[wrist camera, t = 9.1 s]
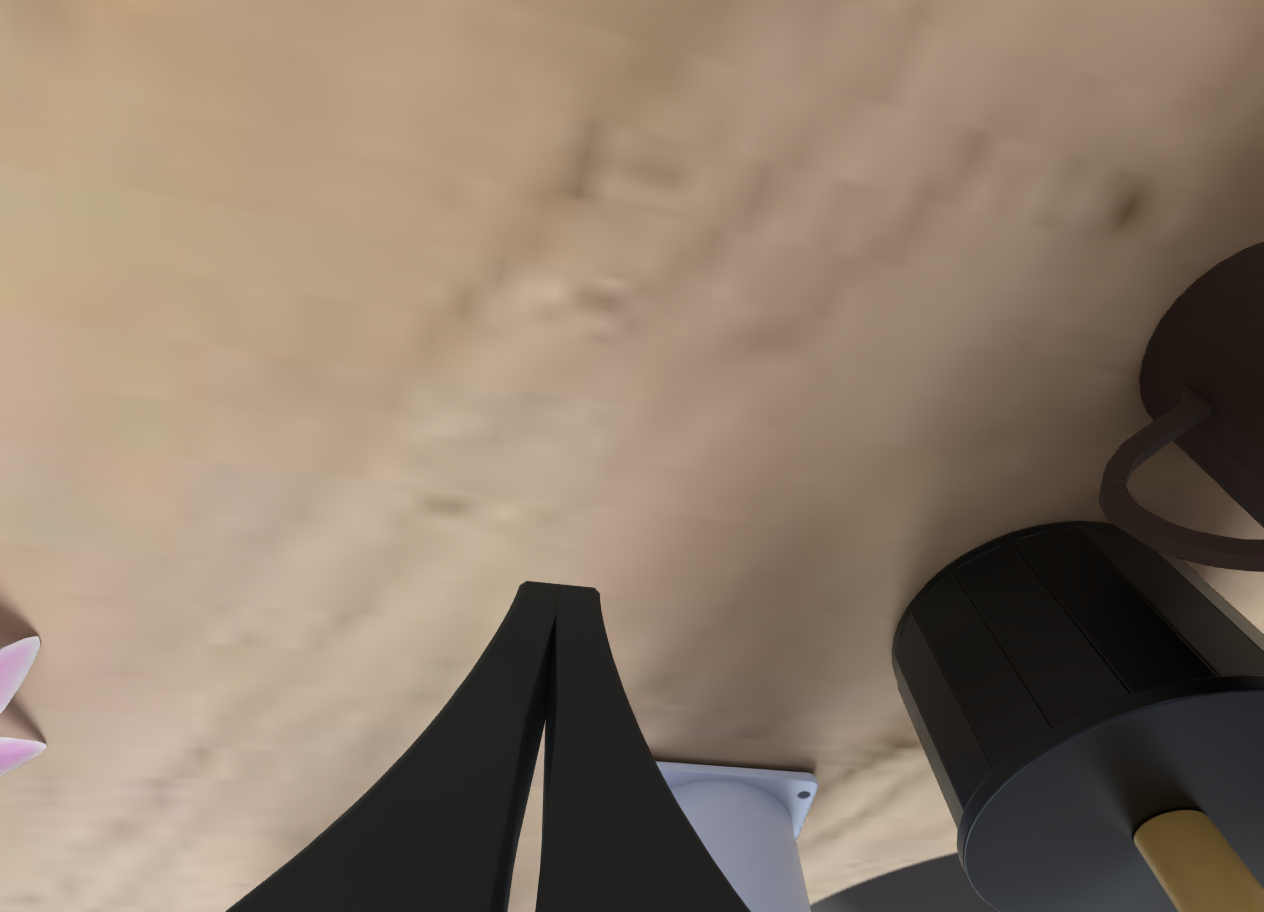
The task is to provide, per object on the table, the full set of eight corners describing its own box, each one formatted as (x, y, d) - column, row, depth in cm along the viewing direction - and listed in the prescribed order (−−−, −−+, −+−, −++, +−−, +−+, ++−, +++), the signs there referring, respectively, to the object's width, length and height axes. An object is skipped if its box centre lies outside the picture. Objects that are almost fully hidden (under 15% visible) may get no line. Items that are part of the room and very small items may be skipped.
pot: (1102, 738, 28) (1229, 919, 22) (858, 718, 28) (921, 900, 22) (1245, 536, 23) (1459, 702, 17) (947, 506, 22) (1062, 668, 16)
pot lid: (1220, 907, 23) (1334, 1070, 19) (898, 886, 22) (952, 1051, 19) (1460, 674, 17) (1685, 840, 14) (1040, 637, 17) (1158, 801, 13)
